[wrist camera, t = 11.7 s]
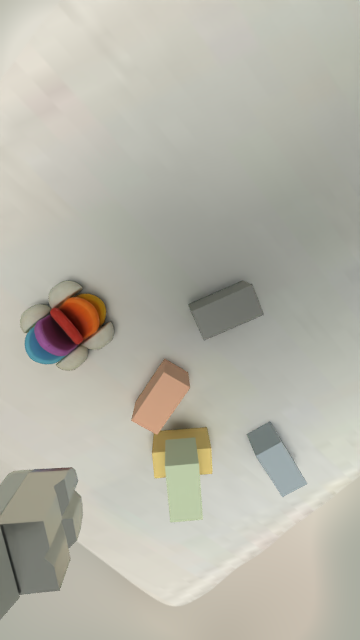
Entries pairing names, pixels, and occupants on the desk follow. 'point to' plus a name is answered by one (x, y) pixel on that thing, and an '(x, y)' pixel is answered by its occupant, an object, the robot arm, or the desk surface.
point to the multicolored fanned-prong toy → (66, 327)
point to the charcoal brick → (226, 309)
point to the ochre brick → (198, 433)
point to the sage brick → (183, 480)
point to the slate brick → (276, 459)
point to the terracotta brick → (161, 396)
